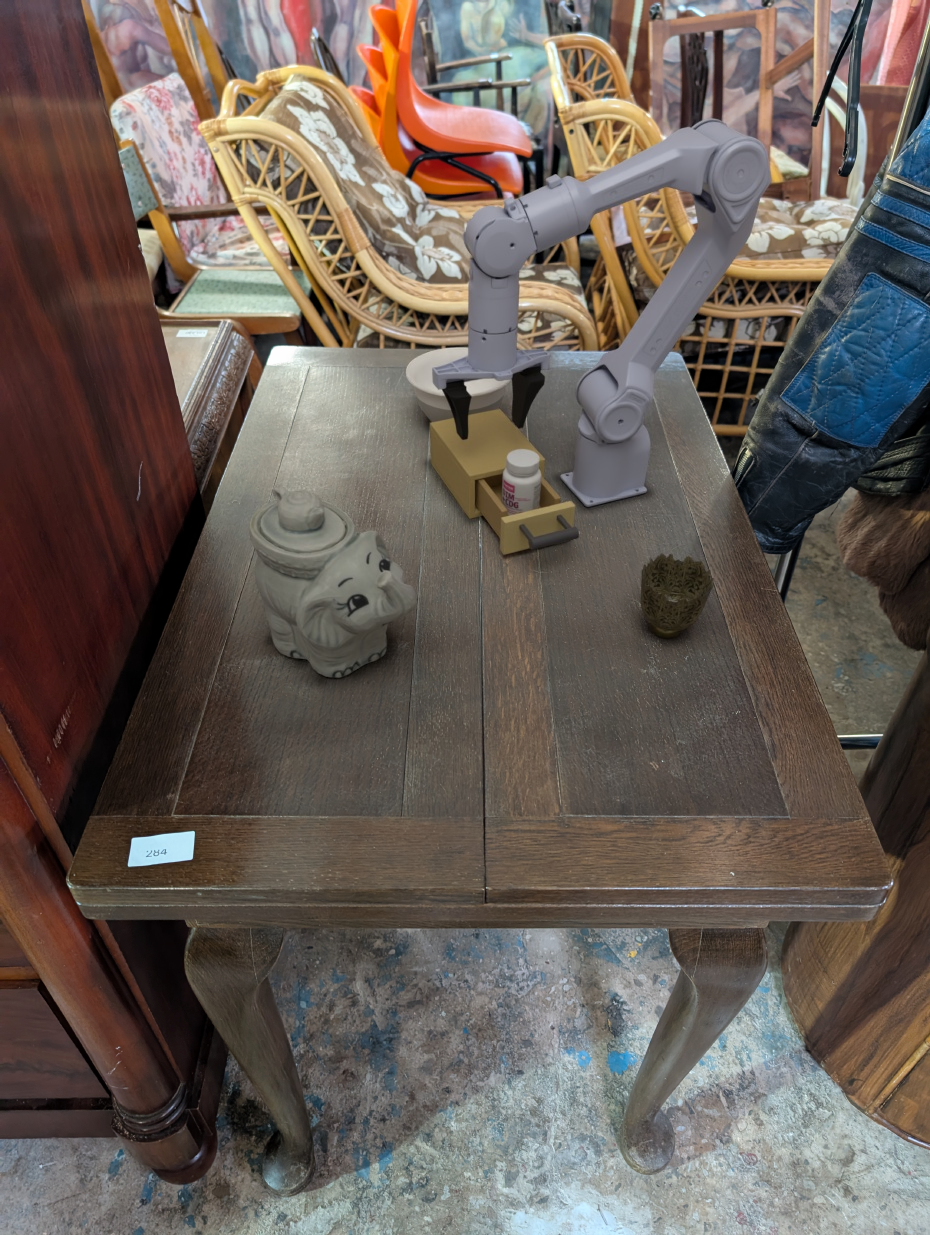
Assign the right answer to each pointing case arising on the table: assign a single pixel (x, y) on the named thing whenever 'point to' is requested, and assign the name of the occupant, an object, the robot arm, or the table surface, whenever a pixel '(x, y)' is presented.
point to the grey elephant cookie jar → (325, 583)
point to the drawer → (526, 517)
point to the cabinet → (475, 453)
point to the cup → (673, 593)
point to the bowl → (433, 400)
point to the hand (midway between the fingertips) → (490, 430)
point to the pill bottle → (521, 482)
